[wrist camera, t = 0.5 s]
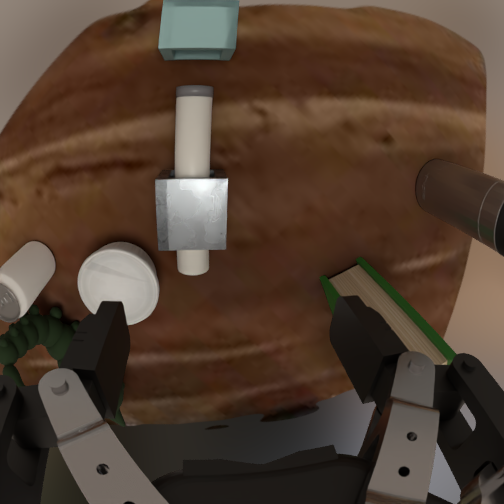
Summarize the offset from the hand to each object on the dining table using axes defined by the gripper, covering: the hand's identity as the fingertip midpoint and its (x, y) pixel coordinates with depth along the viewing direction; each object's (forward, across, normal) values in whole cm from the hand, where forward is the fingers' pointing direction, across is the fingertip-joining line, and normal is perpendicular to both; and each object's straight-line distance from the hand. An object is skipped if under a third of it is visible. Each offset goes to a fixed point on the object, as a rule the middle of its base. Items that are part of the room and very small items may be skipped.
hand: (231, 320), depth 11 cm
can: (+29, +26, +11) cm, 41 cm away
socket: (+29, +2, -18) cm, 34 cm away
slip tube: (+29, +2, 0) cm, 29 cm away
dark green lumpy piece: (+29, +22, +27) cm, 46 cm away
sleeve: (+29, +2, +3) cm, 30 cm away
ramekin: (+29, +12, +13) cm, 35 cm away
